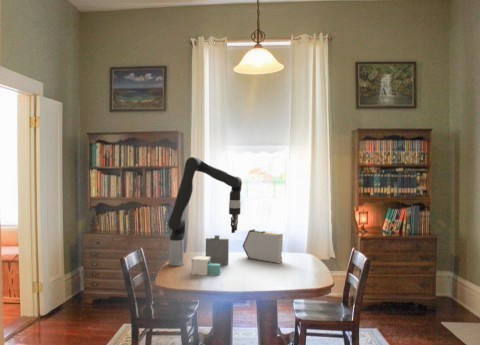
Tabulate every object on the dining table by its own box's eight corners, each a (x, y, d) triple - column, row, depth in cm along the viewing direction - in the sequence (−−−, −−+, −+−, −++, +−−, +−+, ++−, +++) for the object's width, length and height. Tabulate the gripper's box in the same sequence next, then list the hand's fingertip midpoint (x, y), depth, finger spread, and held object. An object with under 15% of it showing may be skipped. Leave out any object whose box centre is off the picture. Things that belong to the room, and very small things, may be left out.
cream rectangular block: (191, 274, 218) (191, 259, 218) (195, 270, 226) (195, 256, 226) (207, 275, 216) (207, 259, 216) (210, 271, 224) (210, 256, 224)
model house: (284, 232, 252) (248, 227, 268) (279, 233, 245) (242, 229, 261) (283, 261, 253) (248, 255, 269) (278, 264, 245) (242, 257, 261)
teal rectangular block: (197, 274, 219) (197, 264, 219) (198, 272, 223) (198, 262, 223) (219, 275, 217) (219, 265, 217) (220, 273, 222) (220, 263, 222)
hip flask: (228, 263, 244) (228, 235, 243) (227, 265, 239) (228, 236, 239) (205, 263, 245) (206, 234, 245) (204, 264, 241) (205, 235, 241)
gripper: (231, 205, 237) (230, 229, 237) (227, 207, 223) (226, 233, 223) (241, 206, 236) (241, 230, 236) (238, 208, 222) (238, 233, 222)
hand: (234, 231), depth 230 cm, fingers open, 8 cm apart
